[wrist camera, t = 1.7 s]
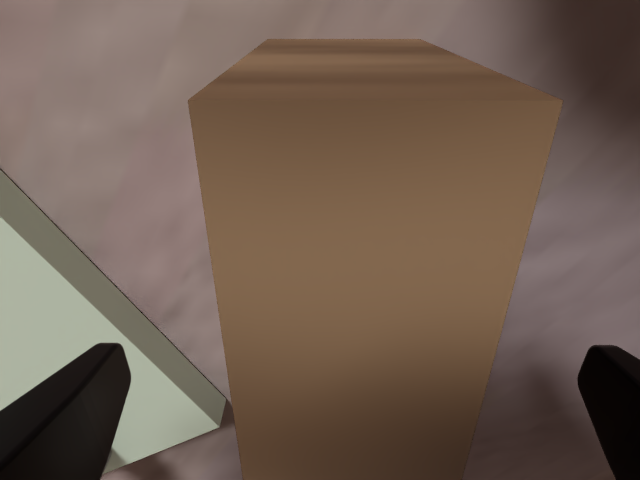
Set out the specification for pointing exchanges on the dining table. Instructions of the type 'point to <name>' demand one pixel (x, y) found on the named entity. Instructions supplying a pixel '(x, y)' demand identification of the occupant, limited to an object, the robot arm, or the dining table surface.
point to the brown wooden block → (364, 248)
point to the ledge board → (89, 334)
